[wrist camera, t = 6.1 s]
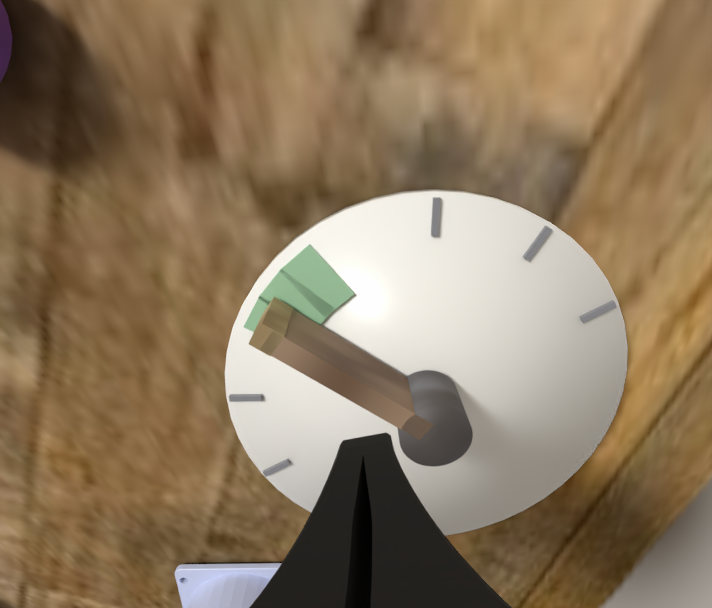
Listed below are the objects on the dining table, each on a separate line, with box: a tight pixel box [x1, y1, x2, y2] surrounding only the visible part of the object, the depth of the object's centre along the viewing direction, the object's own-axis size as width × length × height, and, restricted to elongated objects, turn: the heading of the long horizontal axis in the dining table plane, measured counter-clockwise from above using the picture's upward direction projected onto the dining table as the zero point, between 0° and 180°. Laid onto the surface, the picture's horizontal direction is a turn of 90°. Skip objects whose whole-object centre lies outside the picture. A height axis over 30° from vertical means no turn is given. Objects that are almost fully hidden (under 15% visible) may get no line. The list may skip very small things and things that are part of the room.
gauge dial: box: [225, 189, 628, 535], centre depth 23 cm, size 20×20×1 cm
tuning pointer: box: [249, 297, 473, 467], centre depth 20 cm, size 11×3×3 cm, turn 56°
